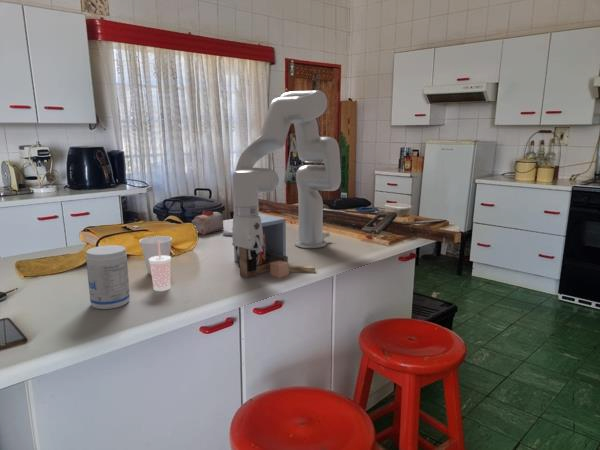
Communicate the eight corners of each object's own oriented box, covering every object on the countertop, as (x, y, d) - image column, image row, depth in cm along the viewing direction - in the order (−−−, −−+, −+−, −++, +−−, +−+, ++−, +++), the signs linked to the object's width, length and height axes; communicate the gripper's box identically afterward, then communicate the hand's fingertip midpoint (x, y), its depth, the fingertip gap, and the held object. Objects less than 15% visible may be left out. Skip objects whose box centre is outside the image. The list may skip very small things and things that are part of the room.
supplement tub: (84, 304, 113) (78, 249, 110) (119, 294, 121) (114, 242, 117) (102, 313, 107) (96, 256, 104) (137, 302, 114) (133, 248, 111)
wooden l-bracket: (265, 258, 154) (264, 231, 152) (289, 265, 146) (289, 236, 144) (223, 269, 142) (222, 240, 140) (247, 278, 133) (246, 246, 131)
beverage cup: (150, 286, 127) (146, 239, 124) (172, 283, 129) (169, 237, 126) (151, 293, 121) (147, 244, 118) (174, 290, 123) (170, 242, 120)
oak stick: (314, 271, 141) (314, 266, 140) (314, 273, 139) (314, 268, 139) (287, 270, 142) (287, 265, 142) (286, 272, 140) (286, 266, 140)
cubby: (261, 254, 160) (260, 213, 157) (285, 261, 151) (285, 218, 147) (234, 261, 151) (233, 218, 148) (258, 269, 142) (257, 223, 139)
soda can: (262, 266, 145) (261, 231, 142) (242, 265, 146) (241, 231, 144) (268, 261, 151) (267, 227, 149) (248, 259, 153) (247, 226, 150)
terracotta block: (279, 272, 139) (279, 260, 139) (288, 275, 137) (288, 262, 136) (270, 275, 137) (270, 262, 136) (279, 278, 134) (278, 265, 133)
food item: (204, 236, 188) (202, 213, 186) (190, 234, 193) (189, 212, 191) (225, 230, 200) (224, 209, 198) (212, 228, 204) (211, 207, 202)
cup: (180, 269, 142) (178, 237, 140) (161, 279, 133) (159, 244, 130) (155, 266, 145) (152, 234, 143) (135, 275, 136) (132, 241, 134)
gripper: (273, 213, 129) (274, 272, 132) (239, 206, 140) (240, 261, 144) (254, 216, 123) (255, 278, 127) (219, 209, 135) (222, 266, 138)
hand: (247, 268), depth 135 cm, fingers closed on wooden l-bracket, 3 cm apart
